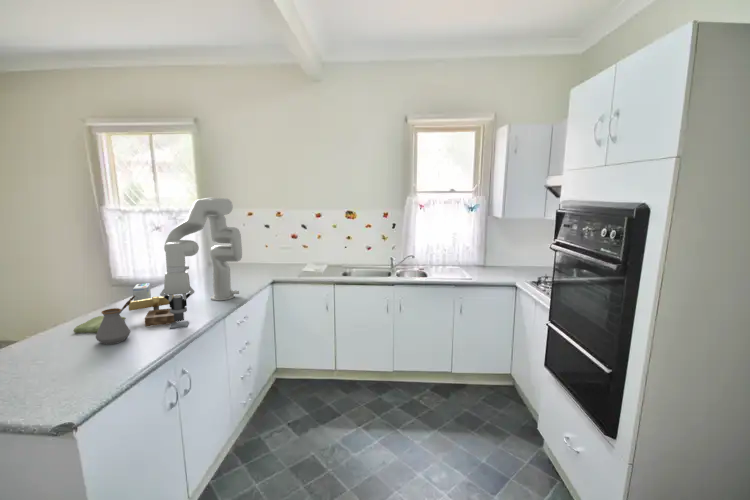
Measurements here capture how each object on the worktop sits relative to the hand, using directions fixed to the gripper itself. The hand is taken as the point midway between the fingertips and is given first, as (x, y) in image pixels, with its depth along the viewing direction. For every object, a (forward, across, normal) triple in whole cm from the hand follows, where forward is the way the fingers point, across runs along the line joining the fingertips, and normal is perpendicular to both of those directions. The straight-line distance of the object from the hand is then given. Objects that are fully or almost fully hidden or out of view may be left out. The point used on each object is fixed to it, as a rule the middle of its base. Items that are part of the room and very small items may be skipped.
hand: (178, 307), depth 161 cm
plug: (+6, 0, 0) cm, 6 cm away
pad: (+8, 0, 0) cm, 8 cm away
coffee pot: (+9, +21, +6) cm, 23 cm away
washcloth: (+9, +32, -11) cm, 35 cm away
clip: (+3, +13, -16) cm, 21 cm away
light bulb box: (+9, +21, -42) cm, 47 cm away
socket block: (+8, +8, -11) cm, 16 cm away
